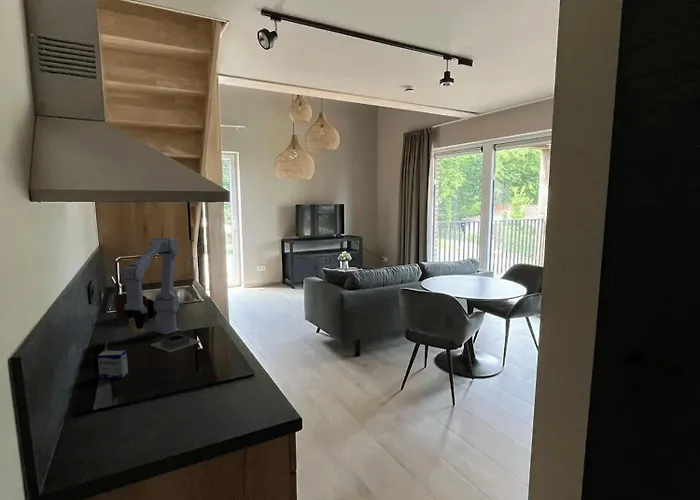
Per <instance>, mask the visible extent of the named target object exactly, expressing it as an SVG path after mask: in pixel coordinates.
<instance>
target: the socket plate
mask: <svg viewBox="0 0 700 500" xmlns="http://www.w3.org/2000/svg"><path fill="white" fill-rule="evenodd" d="M199 343H201V341H200V340H199V339H196V338H192V337H190V336H187V335H183V334H180V333H177V334H173V335H170V336H167V337H164V338H161V340H160V341H157V342H154V343H151V344H150V347H153V348H156V349H158V350H162V351H164V352H166V353H172V352H176V351H179V350H181V349H184V348H187V347H190V346H193V345H197V344H199Z"/></svg>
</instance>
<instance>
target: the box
mask: <svg viewBox="0 0 700 500" xmlns="http://www.w3.org/2000/svg"><path fill="white" fill-rule="evenodd" d="M127 353H128V352H127V349H120V350H119V349H118V350H103V351H102V352H101V353H99V354H98V355H97V362H98V375H99V376H98V377H99V379H100V380H103V379H120V378H121V379H122V378H124V377H125V376H126V375H127V374H128V373H129V368H128V367H129V366H128V356H127Z"/></svg>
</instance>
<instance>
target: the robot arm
mask: <svg viewBox="0 0 700 500" xmlns="http://www.w3.org/2000/svg"><path fill="white" fill-rule="evenodd" d="M178 244H179V243H178V242H177V240H176V238H175V237H153V238H152V239H151V240H150V243H149V247H148V249H147V250H146V251H145V252H144V254H139V255H137V257H136V258H135V260H134V261H132V263H131V264H130V265H129V266H125V267H124V268H123V269H122V271H121V273H120V277H121V279H122V280H123V284H124V285H125V292H126V293H125V294H126V295H127V304H124V306H125V310H127V311H124V313H125V314H126V315H127V317H128V319H130V318H134V319H135V323H136V327H137V329H141V328H143V325H144V326H145V322H144V320H145V317H146V315H147V313H148V311H147V308H146V307H145V306H144V305H143V296H144V295H143V285H142V280H143V279H144V276H145V273H146V270H147V269H148V268H149V267H150V265H151V264H152V259H153V258H154V257H156V256H157V255H158V256H159V257H161V258H162V269H161V271H162V272H161V281H160V283H161V285H160V286H161V287H160V292H159V293H157V294H156V296H155V299H154V301H155V302H154V310H155V311H156V312H157V314H156V317H155V319H154V320H155V329H154V332H156V333H159V334H162V335H169V334H171V333H176V332H179V331H181V330H182V329H181V328H179V327H177V326H178V325H177V316H176V315H177V314H176V312H178V310H179V308H180V301H179V300H180V299H179V295H178V294H176V293H175V292H174V284H175V282H174V280H175V279H174V278H175V263H176V262H175V261H176V257H177V255H178V246H179V245H178Z"/></svg>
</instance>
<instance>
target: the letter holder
mask: <svg viewBox="0 0 700 500" xmlns="http://www.w3.org/2000/svg"><path fill="white" fill-rule="evenodd" d="M142 296H143V305H144V306H145V307H146V308H147V311H148V313H147V315H146V317H145V320H144V323H145V322H146V323H149V322H151V320H152V321H153V320H155V317H156V314H157V312H156V311H155V310H154V302H155V300H153V299H150V298H148V297H147V296H145V295H142ZM114 298H115V316H116V319H117V318H119V319H126V320H125V321H129V319H128V317H127V315H126V314H125V313H124V311H127V310H125V306H124V304H127V295H126V293H121V294H120V293H119V294H116V295H115V297H114Z"/></svg>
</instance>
